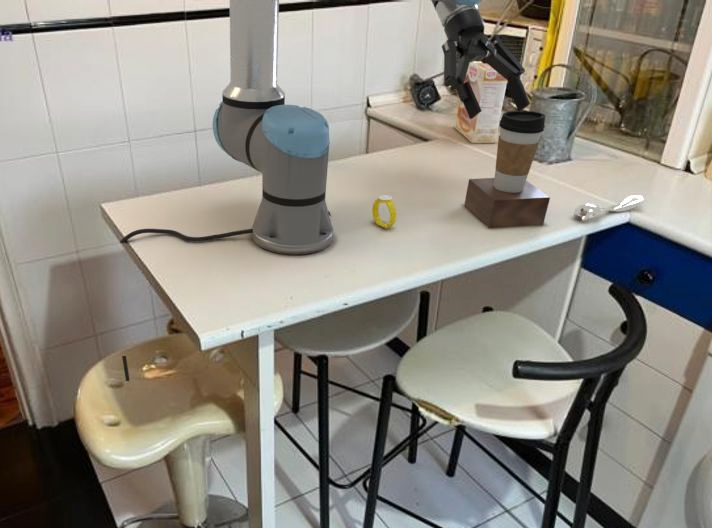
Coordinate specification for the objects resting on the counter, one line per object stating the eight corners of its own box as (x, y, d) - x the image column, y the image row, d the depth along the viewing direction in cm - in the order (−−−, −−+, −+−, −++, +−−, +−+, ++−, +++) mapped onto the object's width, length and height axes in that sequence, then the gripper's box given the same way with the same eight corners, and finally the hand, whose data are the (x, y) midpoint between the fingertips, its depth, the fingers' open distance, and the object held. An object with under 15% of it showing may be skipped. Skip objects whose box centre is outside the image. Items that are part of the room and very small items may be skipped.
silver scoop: (633, 184, 144) (653, 191, 141) (629, 199, 146) (648, 206, 143) (571, 204, 136) (589, 212, 133) (567, 220, 138) (585, 228, 135)
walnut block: (488, 228, 131) (494, 200, 128) (464, 205, 141) (468, 178, 138) (543, 225, 133) (550, 197, 130) (515, 202, 143) (520, 176, 140)
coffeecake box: (453, 128, 192) (465, 57, 182) (477, 127, 193) (489, 58, 183) (471, 143, 180) (484, 69, 169) (496, 143, 180) (510, 69, 170)
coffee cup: (531, 197, 130) (549, 121, 122) (488, 192, 131) (503, 117, 123) (527, 182, 137) (544, 110, 129) (486, 178, 138) (500, 106, 130)
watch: (397, 230, 129) (401, 201, 126) (386, 232, 128) (389, 204, 125) (379, 219, 133) (382, 191, 130) (368, 221, 132) (370, 193, 129)
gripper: (492, 28, 143) (530, 114, 140) (403, 34, 131) (442, 128, 128) (516, 4, 136) (556, 94, 133) (424, 8, 125) (466, 107, 122)
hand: (500, 111), depth 131 cm, fingers open, 13 cm apart
